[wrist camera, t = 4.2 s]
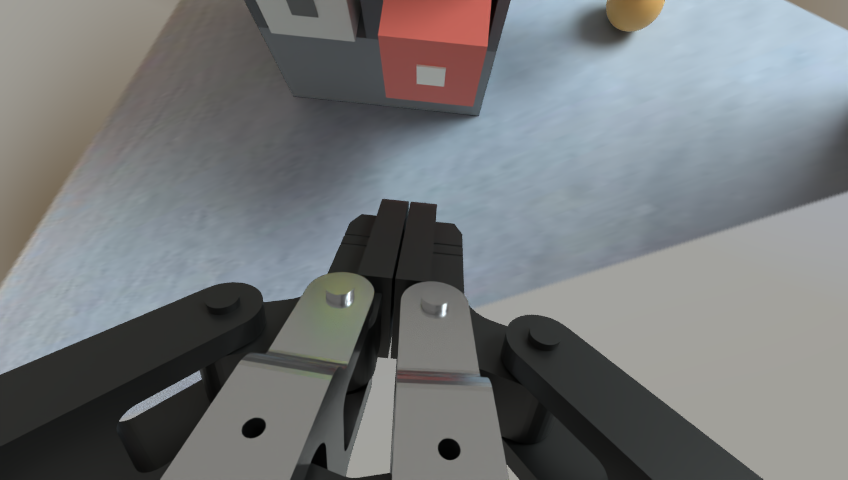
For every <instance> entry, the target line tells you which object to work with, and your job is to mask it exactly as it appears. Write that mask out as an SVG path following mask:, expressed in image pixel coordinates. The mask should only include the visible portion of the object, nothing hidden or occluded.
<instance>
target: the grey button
mask: <svg viewBox="0 0 848 480" xmlns="http://www.w3.org/2000/svg"><path fill="white" fill-rule="evenodd" d="M256 2H257V4H258V6H259V8H260V10H261V12H262V14H263V17H264V19H265V21H266V23H267V25H268V27H269V29H270V31H271V33H275V34H285V35H294V36H304V37H313V38H323V39H333V40H342V41H352V42H355V40H356V34H357V28H358V22H359V16H360V10H361V2H360V0H256Z"/></svg>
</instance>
